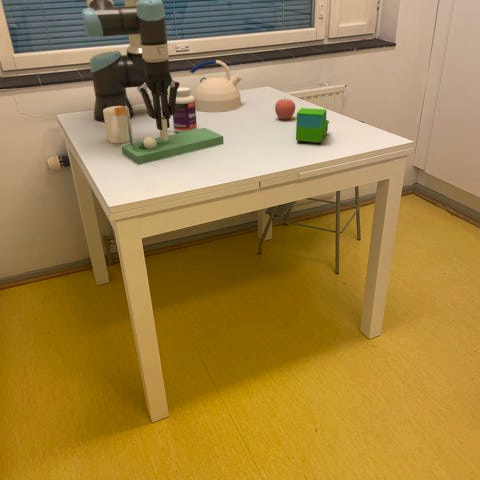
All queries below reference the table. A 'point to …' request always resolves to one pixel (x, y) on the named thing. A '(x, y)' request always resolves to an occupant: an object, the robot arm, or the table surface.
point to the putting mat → (173, 145)
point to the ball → (150, 142)
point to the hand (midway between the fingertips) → (164, 139)
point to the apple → (285, 108)
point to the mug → (116, 126)
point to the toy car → (311, 125)
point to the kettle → (217, 91)
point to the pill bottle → (184, 111)
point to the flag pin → (124, 111)
